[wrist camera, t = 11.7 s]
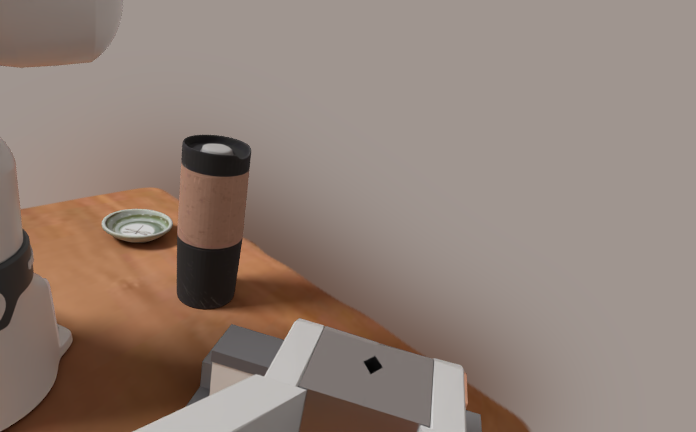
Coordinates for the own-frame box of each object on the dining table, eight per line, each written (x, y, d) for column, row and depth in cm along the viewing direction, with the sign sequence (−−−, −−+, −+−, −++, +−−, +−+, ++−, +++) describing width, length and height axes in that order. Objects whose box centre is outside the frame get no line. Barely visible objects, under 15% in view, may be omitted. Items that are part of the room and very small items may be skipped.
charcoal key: (263, 479, 36) (281, 371, 32) (201, 458, 36) (211, 350, 32) (277, 446, 39) (295, 343, 34) (220, 427, 39) (231, 324, 35)
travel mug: (172, 278, 61) (178, 131, 53) (230, 275, 64) (244, 137, 56) (176, 313, 55) (184, 153, 47) (241, 308, 58) (258, 157, 50)
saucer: (174, 223, 75) (175, 210, 74) (168, 253, 67) (169, 238, 66) (109, 219, 72) (109, 205, 71) (94, 249, 64) (94, 234, 63)
